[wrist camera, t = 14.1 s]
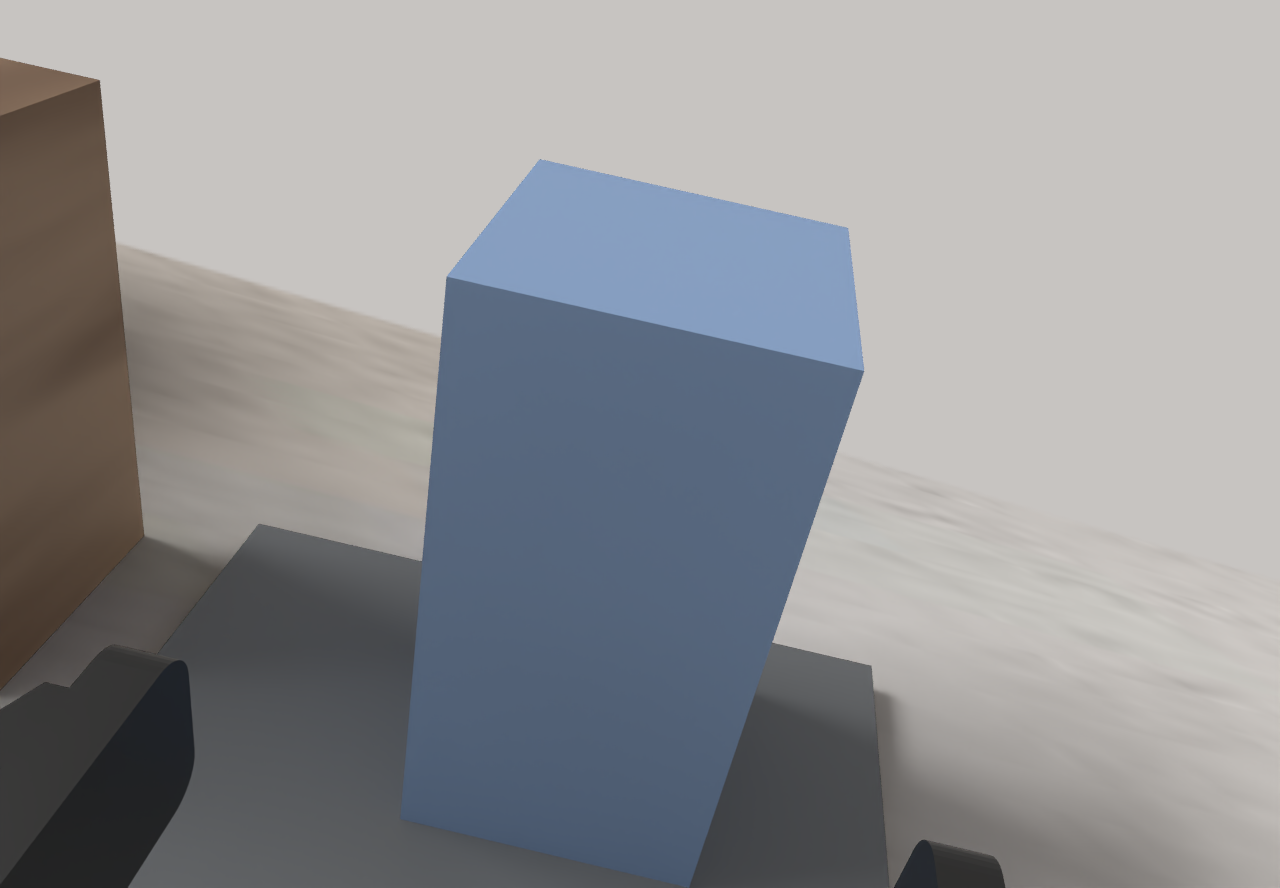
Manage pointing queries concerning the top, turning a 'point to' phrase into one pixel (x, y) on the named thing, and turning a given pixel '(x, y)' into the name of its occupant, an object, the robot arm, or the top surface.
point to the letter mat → (377, 738)
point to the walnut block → (58, 361)
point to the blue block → (617, 509)
